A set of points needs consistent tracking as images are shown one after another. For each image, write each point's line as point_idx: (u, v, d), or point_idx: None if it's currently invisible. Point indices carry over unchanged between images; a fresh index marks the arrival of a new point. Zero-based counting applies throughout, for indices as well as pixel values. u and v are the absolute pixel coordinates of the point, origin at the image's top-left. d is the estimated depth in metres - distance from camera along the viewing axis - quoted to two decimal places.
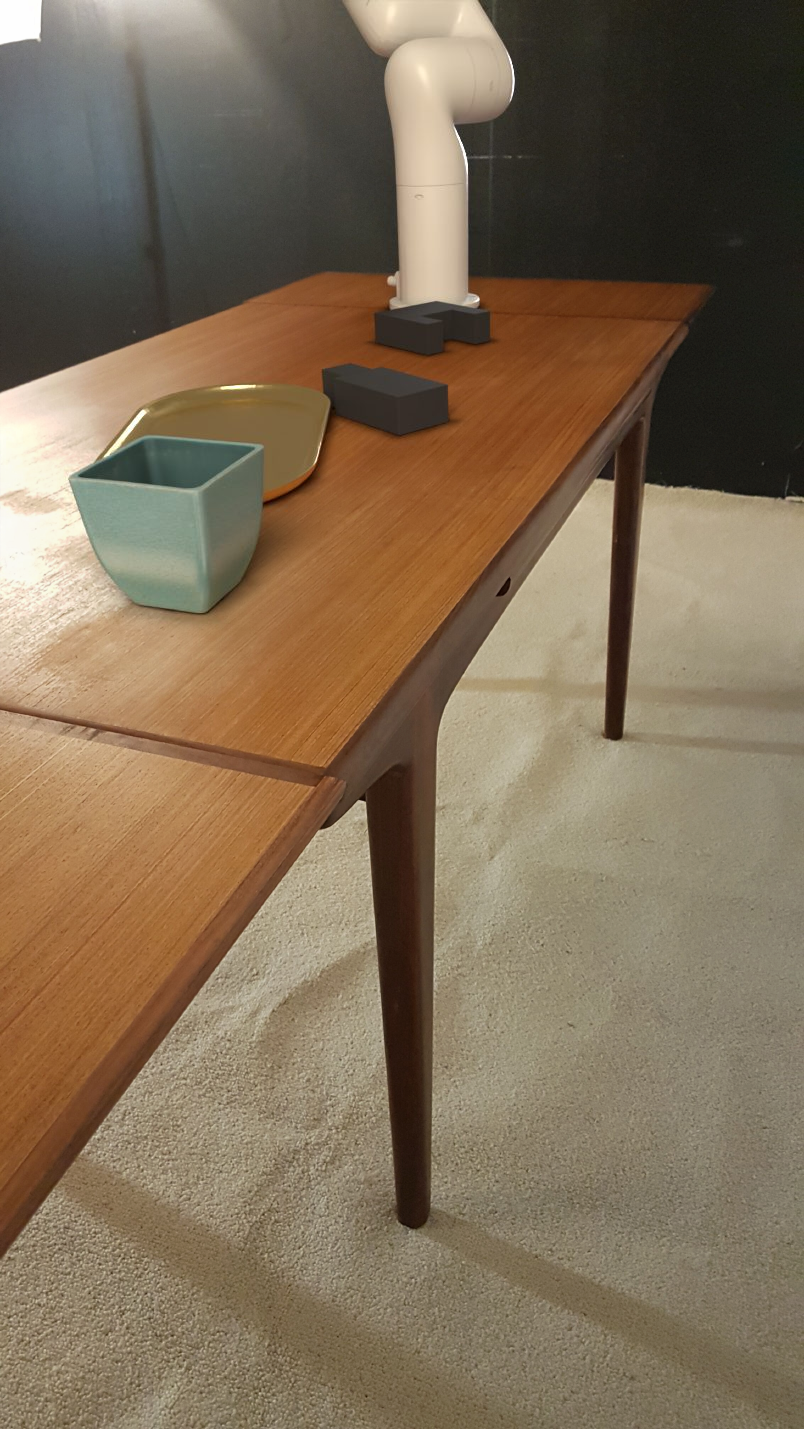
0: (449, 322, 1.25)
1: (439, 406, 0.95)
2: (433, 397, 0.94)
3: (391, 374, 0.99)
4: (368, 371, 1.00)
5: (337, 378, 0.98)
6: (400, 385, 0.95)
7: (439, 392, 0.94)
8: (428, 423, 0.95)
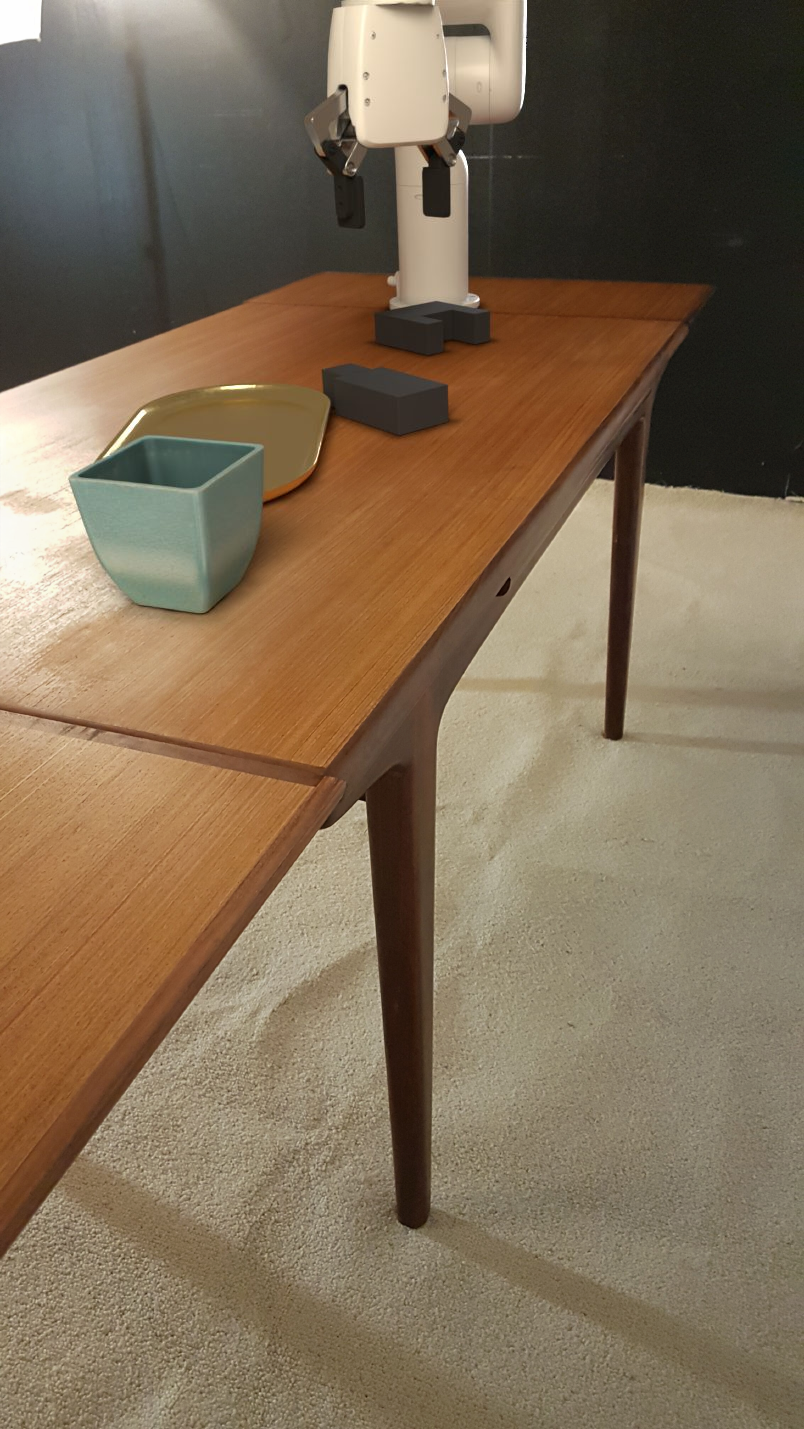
0: (449, 322, 1.25)
1: (439, 406, 0.95)
2: (433, 397, 0.94)
3: (391, 374, 0.99)
4: (368, 371, 1.00)
5: (337, 378, 0.98)
6: (400, 385, 0.95)
7: (439, 392, 0.94)
8: (428, 423, 0.95)
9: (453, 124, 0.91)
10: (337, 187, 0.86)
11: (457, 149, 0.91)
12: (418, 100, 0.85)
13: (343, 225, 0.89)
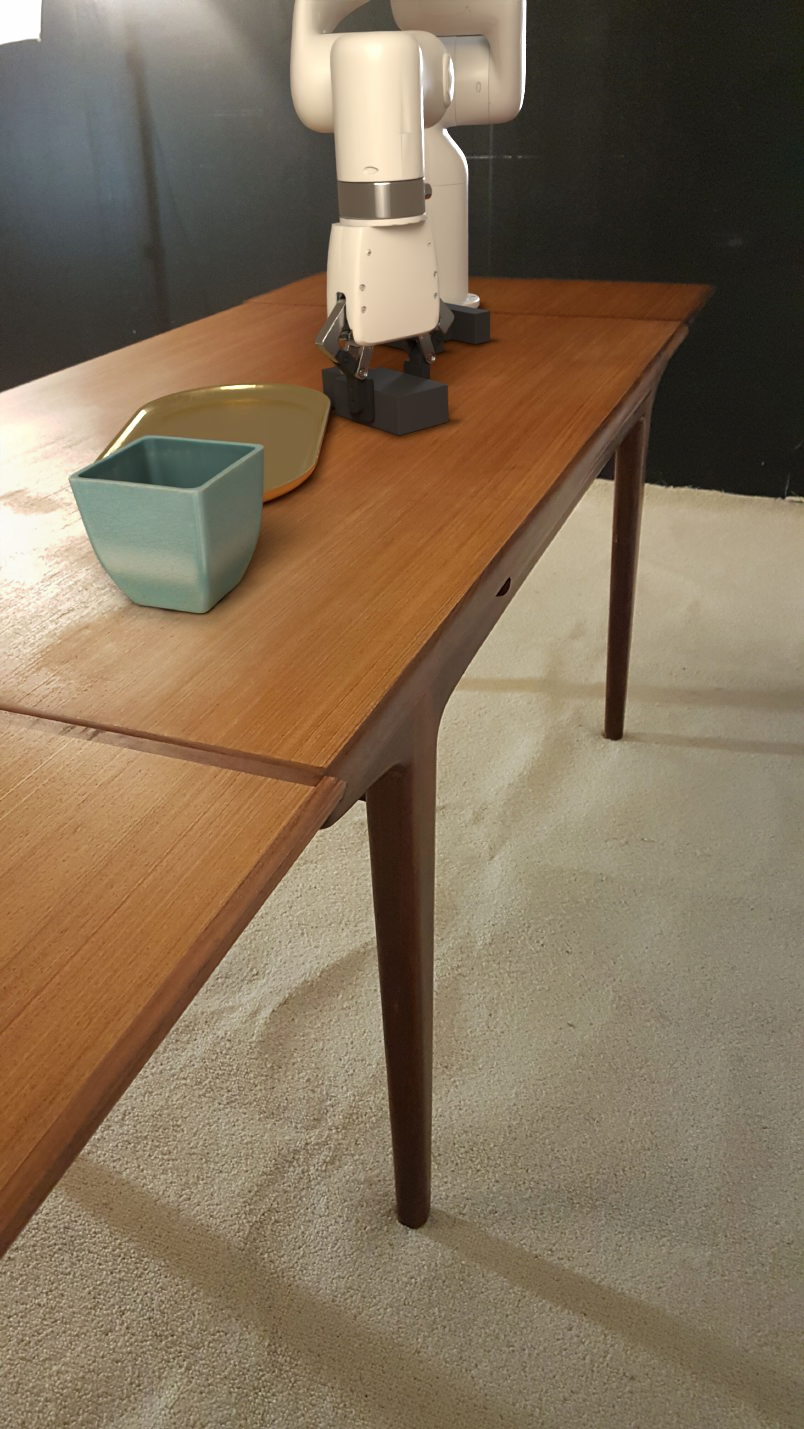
0: None
1: (439, 406, 0.95)
2: (433, 397, 0.94)
3: (391, 374, 0.99)
4: (368, 371, 1.00)
5: (337, 378, 0.98)
6: (400, 385, 0.95)
7: (439, 392, 0.94)
8: (428, 423, 0.95)
9: None
10: (350, 386, 0.94)
11: (436, 346, 0.97)
12: (411, 301, 0.92)
13: (355, 416, 0.97)
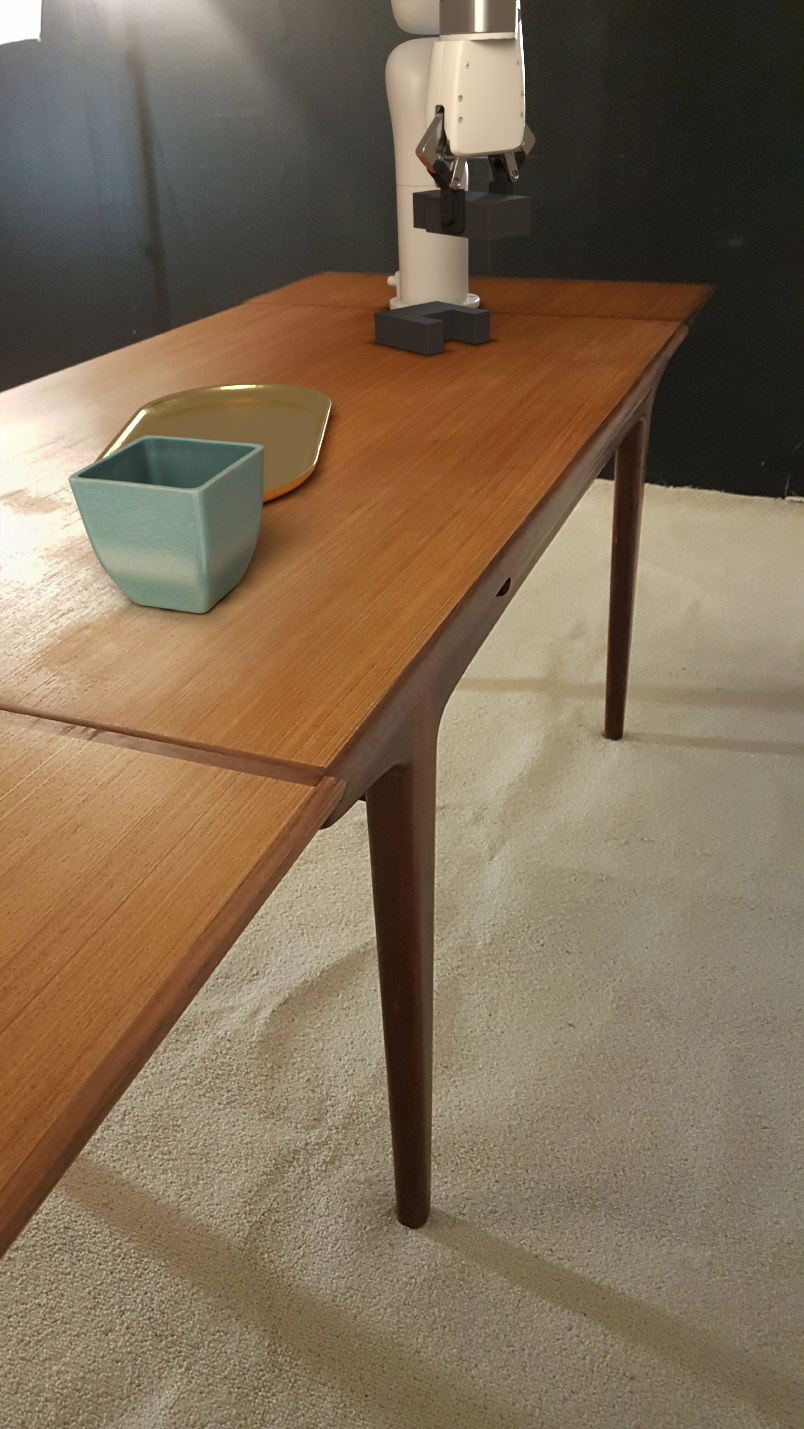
0: (449, 322, 1.25)
1: (523, 217, 1.06)
2: (519, 207, 1.05)
3: (477, 193, 1.09)
4: None
5: (429, 196, 1.09)
6: (488, 198, 1.06)
7: (523, 203, 1.05)
8: (513, 232, 1.06)
9: None
10: (443, 198, 1.05)
11: (519, 166, 1.08)
12: (500, 117, 1.02)
13: (446, 228, 1.07)
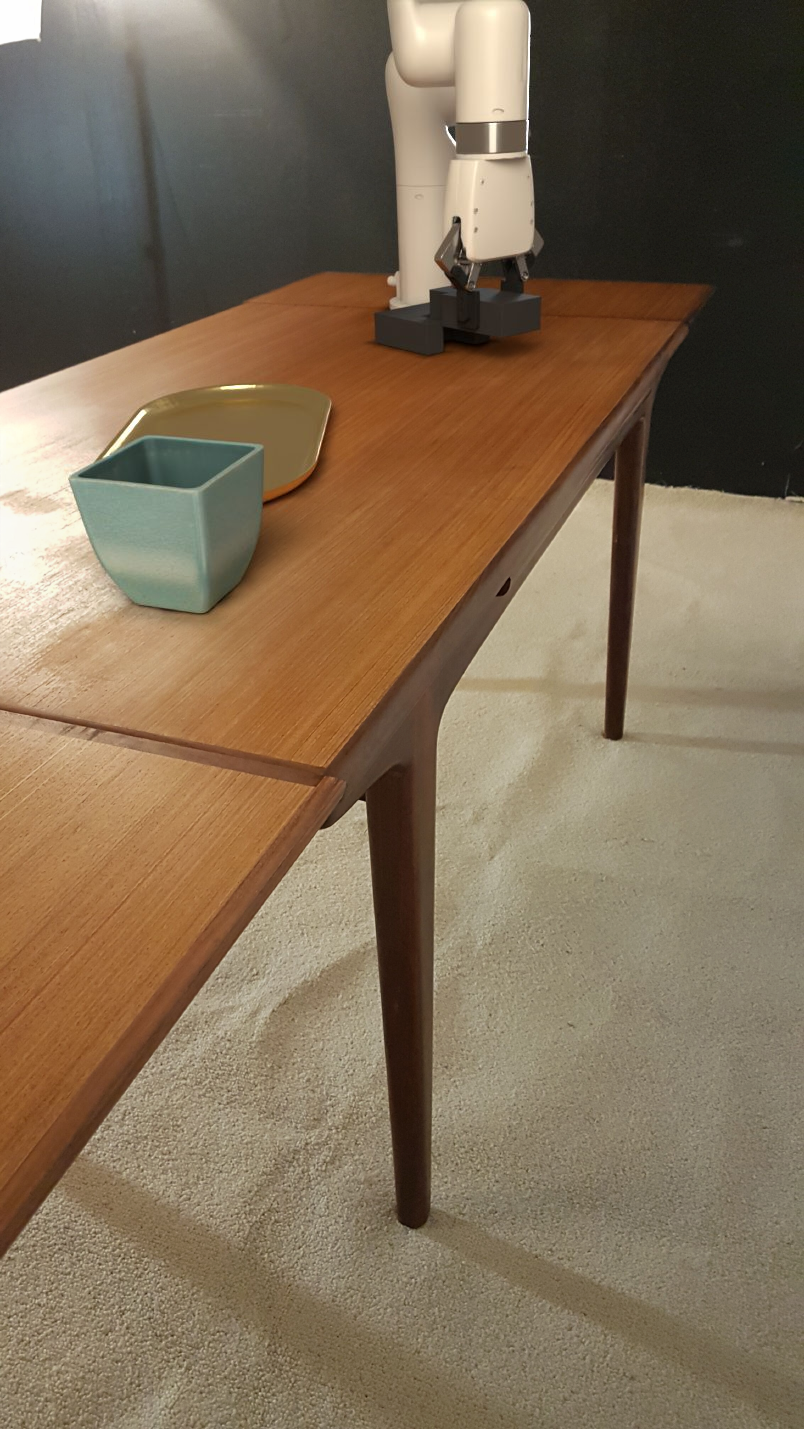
0: None
1: (533, 315, 1.14)
2: (530, 306, 1.13)
3: (490, 291, 1.17)
4: None
5: (445, 294, 1.17)
6: (501, 297, 1.14)
7: (534, 302, 1.13)
8: (524, 329, 1.14)
9: None
10: (459, 298, 1.13)
11: (529, 267, 1.16)
12: (512, 225, 1.10)
13: (461, 325, 1.15)
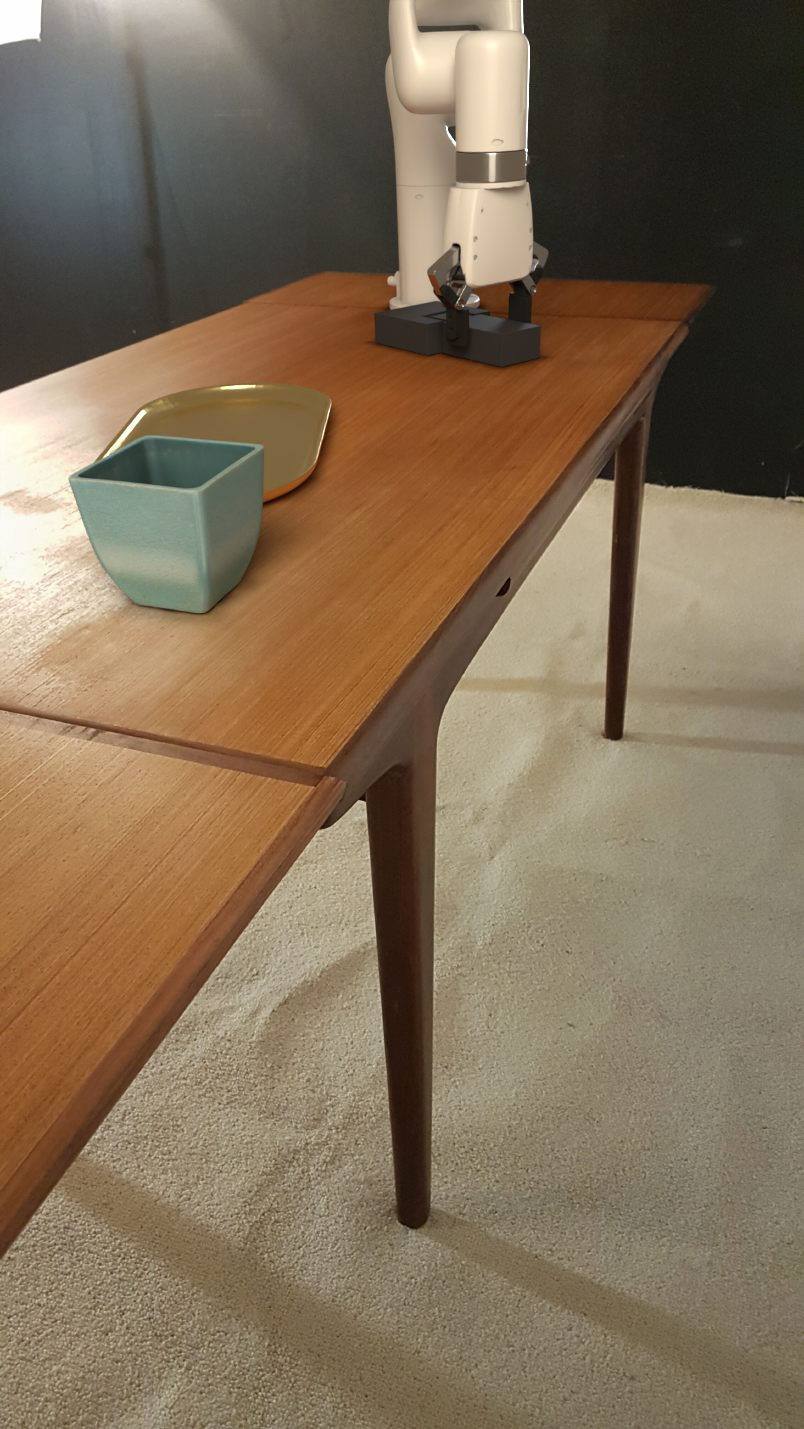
0: None
1: (533, 344, 1.15)
2: (529, 336, 1.14)
3: (490, 319, 1.19)
4: (470, 317, 1.20)
5: None
6: (501, 326, 1.15)
7: (533, 331, 1.15)
8: (524, 358, 1.15)
9: (534, 262, 1.18)
10: (448, 316, 1.13)
11: (537, 281, 1.18)
12: (511, 252, 1.12)
13: (451, 342, 1.16)
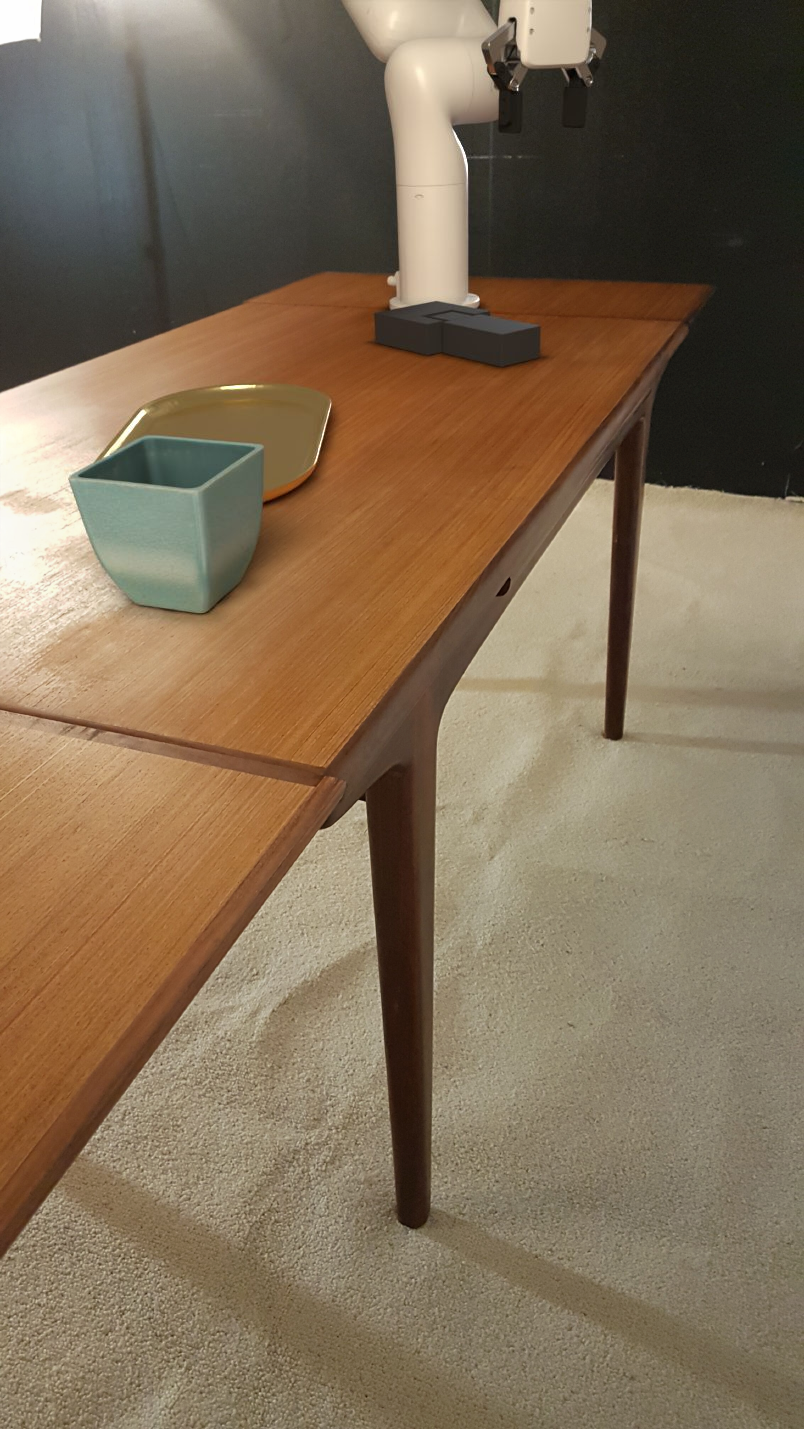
0: None
1: (533, 344, 1.15)
2: (529, 336, 1.14)
3: (490, 319, 1.19)
4: (470, 317, 1.20)
5: (446, 322, 1.18)
6: (501, 326, 1.15)
7: (533, 331, 1.15)
8: (524, 358, 1.15)
9: (591, 51, 1.14)
10: (501, 100, 1.11)
11: (593, 72, 1.15)
12: (568, 31, 1.09)
13: (503, 131, 1.13)
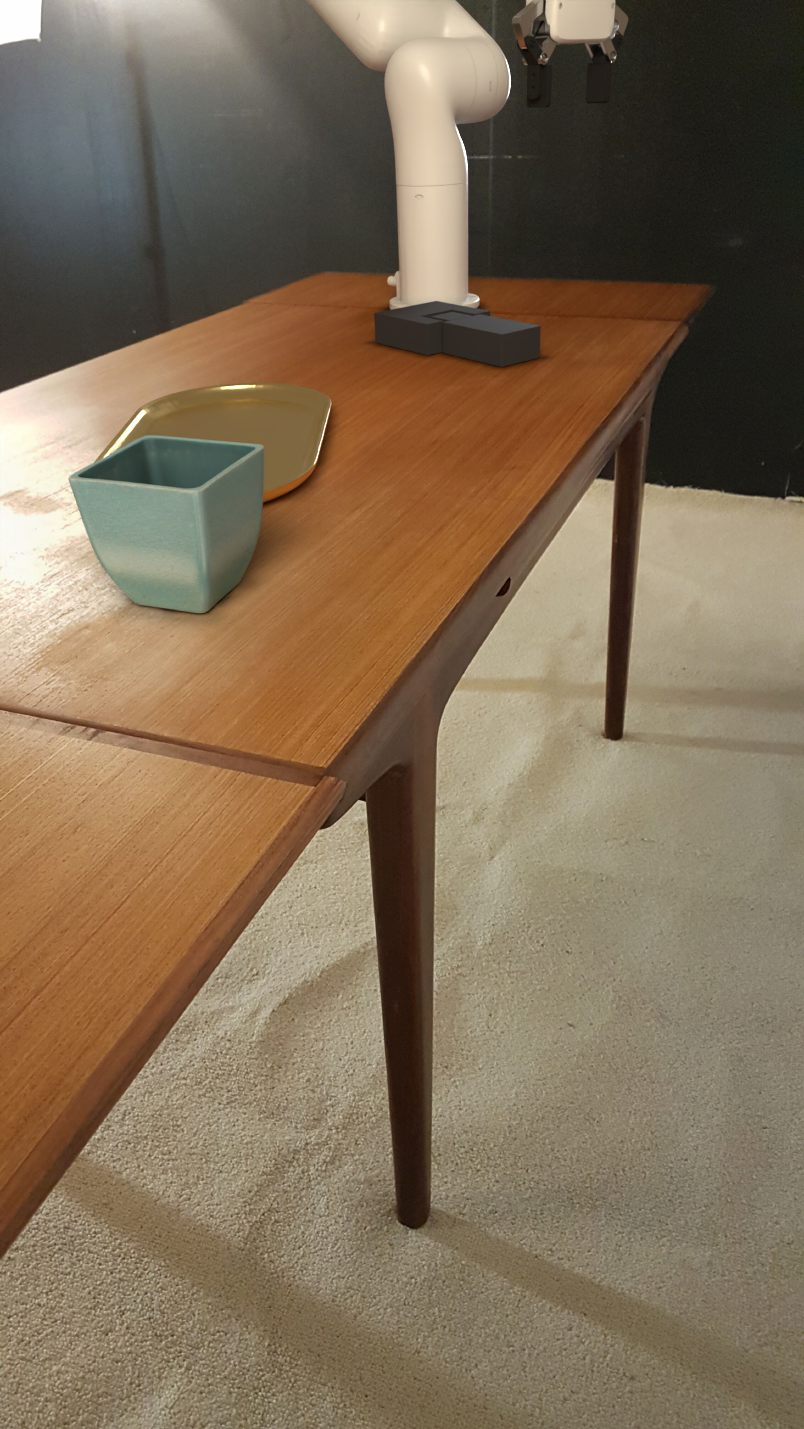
0: None
1: (533, 344, 1.15)
2: (529, 336, 1.14)
3: (490, 319, 1.19)
4: (470, 317, 1.20)
5: (446, 322, 1.18)
6: (501, 326, 1.15)
7: (533, 331, 1.15)
8: (524, 358, 1.15)
9: (614, 28, 1.17)
10: (531, 74, 1.13)
11: (616, 48, 1.17)
12: (595, 6, 1.11)
13: (531, 105, 1.15)
